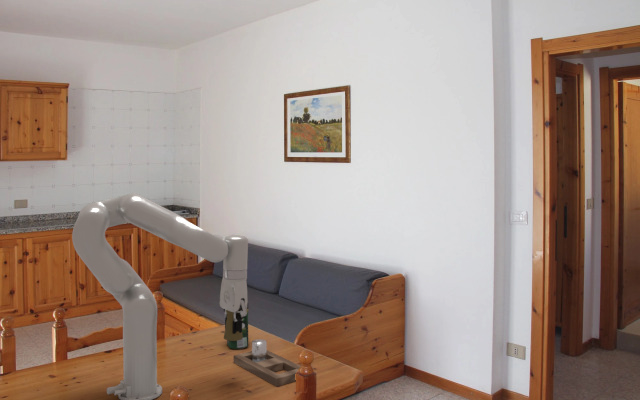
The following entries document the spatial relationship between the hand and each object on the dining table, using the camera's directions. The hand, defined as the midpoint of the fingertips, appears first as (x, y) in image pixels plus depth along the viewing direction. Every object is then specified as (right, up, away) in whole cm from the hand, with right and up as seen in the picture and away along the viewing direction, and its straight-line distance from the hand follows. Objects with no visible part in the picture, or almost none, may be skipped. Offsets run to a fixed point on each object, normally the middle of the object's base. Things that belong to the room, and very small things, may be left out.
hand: (233, 330), depth 175 cm
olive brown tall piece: (0, -3, 0) cm, 3 cm away
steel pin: (+7, -15, +16) cm, 23 cm away
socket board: (+11, -16, +11) cm, 22 cm away
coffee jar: (-4, -14, +35) cm, 38 cm away
